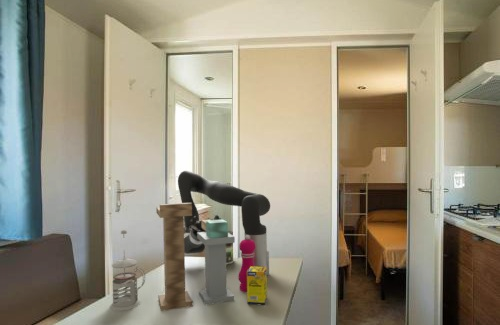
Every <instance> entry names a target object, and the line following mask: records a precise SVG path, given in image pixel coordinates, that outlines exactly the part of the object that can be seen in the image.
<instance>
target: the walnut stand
mask: <svg viewBox="0 0 500 325" xmlns="http://www.w3.org/2000/svg"><path fill="white" fill-rule="evenodd" d="M155 209H156V212H155V213H156V214H157V216H158V217H159V218H160V219H162V220H163V222H162V224H163V226H162V227H163V260H164V261H163V264H164V265H163V266H164V270H163V271H164V294H159V295H158V302H159V303H158V304H159V306H160V310H161V311H169V309H170V310H175V309H180V308H181V309H182V308H187V307H188V308H189V307H193V304H194V301H193V299H192V298H191V295H190V293H189V291H188V290H186V267H185V266H186V265H185V263H186V262H185V253H184V238H185V226H184V216H192V203H182V202H181V203H167V204H166V203H165V204H159V206H156V208H155Z"/></svg>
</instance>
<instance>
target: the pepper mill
mask: <svg viewBox="0 0 500 325" xmlns="http://www.w3.org/2000/svg"><path fill="white" fill-rule="evenodd" d="M249 238H250V237H249V235H246V236H245V235H244V239H242V240H241V241H240V242H239V245H238V248H239V250H240V251H241V252H240V257H241V259H242V260H241V262H242V263H241V267H240V270H239V272H238V277H237V278H238V281H239V282H240V284H239V290H240V291H241V292H243V293H247V271H248V269H249V268H250V267H251V266H254V263H253V257H254V252H253V251H254V250H255V247H256V246H255V243H254V241H253V240H251V239H249Z"/></svg>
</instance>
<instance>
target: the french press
mask: <svg viewBox="0 0 500 325" xmlns="http://www.w3.org/2000/svg"><path fill="white" fill-rule="evenodd" d="M120 234H121V235H123V237H125V235H126V234H128V232H127V230H125V229H122V230H121V231H120ZM125 254H126V253H125V251H123V258H120V259H119V260H116V261H114V262H113V263H111V267H112V268H113V269H123V272H119V273H116V274H115V275H113V280H112V302H111V304H110V306H109V309H111V310H112V311H126V310H130V309H134V308H136V307H138V306H139V305H141V301H140V300H139V298H138V294H139V293H138V290H140V289H141V288H142V287H143V286H144V284H145V282H146V273H145V271H144V269H142V267H139V266H136V265H137V263H138V261H137V260H135V259H132V258H129V257H128V258H126V257H125ZM134 266H136V267H135V268H134V272H133V271H132V272H131V271H129V272H128V271H127V272H126V268H132V267H134ZM137 271H138V272H140V273H141V276H142V283H141V285H140V286H139V287H138V278H137V277H136V276H137V274H136V273H137ZM127 281H128V282H127ZM121 288H122V289H121Z"/></svg>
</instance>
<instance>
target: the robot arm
mask: <svg viewBox="0 0 500 325" xmlns="http://www.w3.org/2000/svg"><path fill="white" fill-rule="evenodd" d="M177 187H178V191H179V196H180V201H181V203H192V216H184V233H187V234H188V235H187V236H184V254H189V255H190V254H200V253H203V252H205V245H204V244H203V243H202V242H201V241H200V240H199V239H198V238H197V232H206V231H205V230H204V229H202V225H201V220H200V214H199V211H198V208H197V206H196V205H195V202H194V199H193V196H192V192H193V193H198V194H201V195H202V194H203V195H205V196H206V197H208V198H209V199H210V200H212V201H214V202H217V203H218V204H220V205H221V204H222V205H226V206H233V207H234V206H235V207H240V208H241V210H240V211H241V222H242V227H243V230H244V237H245V236H246V235H249V237H250V238H249V239H251V240H253V241H254V243H255V246H256V247H255V250H254V251H253V252H254V257H253V263H254V266H256V267H267V276H268V275H269V276H270V253H269V252H270V251H268V243H267V241H268V240H267V239H268V237H267V226H266V225H265V224H263V223H261V218H260V217H261V216H264V215H266V214H268V212H269V211H270V209H271V203H270V201H269V198H268V197H266V196H265V195H264V194H261V193H255V192H250V191H247V190H243V189H241V188H239V187H236V186H233V185H230V184H228V183H225V182H221V181H218V180H210V179H207V178H206V177H203V176H202V175H200V174H198V173H195V172H192V171H189V170H183V171H181V172H180V174H178V178H177ZM209 220H222V218H220V216H219V215H218V214H216V215H214V218H210V219H209Z"/></svg>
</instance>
